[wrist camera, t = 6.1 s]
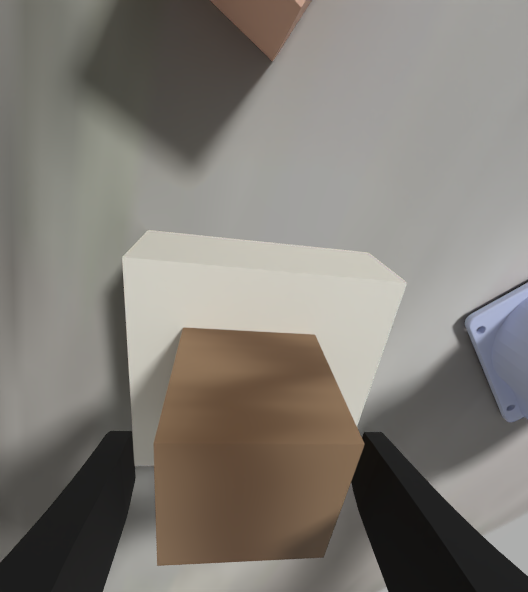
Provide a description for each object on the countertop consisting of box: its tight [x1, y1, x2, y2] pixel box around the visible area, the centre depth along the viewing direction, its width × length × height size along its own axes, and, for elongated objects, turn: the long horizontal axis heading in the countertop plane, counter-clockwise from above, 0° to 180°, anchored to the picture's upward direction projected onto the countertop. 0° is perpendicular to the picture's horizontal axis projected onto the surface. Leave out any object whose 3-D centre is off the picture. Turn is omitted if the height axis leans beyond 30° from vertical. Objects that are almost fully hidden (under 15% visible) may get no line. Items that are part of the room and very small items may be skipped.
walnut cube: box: [153, 327, 365, 566], centre depth 11 cm, size 5×5×5 cm
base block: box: [122, 230, 407, 466], centre depth 15 cm, size 10×10×4 cm
